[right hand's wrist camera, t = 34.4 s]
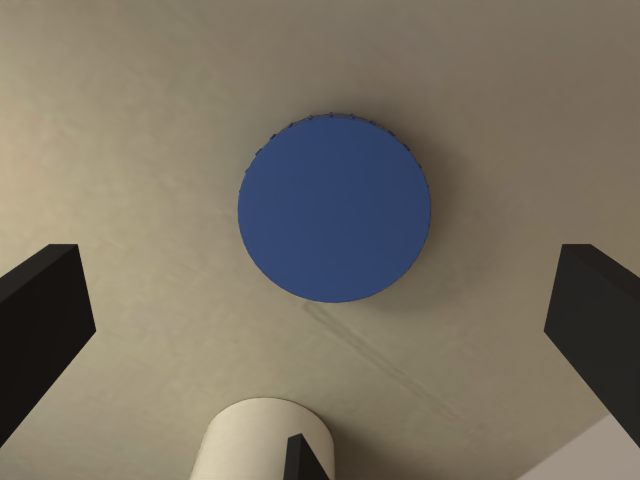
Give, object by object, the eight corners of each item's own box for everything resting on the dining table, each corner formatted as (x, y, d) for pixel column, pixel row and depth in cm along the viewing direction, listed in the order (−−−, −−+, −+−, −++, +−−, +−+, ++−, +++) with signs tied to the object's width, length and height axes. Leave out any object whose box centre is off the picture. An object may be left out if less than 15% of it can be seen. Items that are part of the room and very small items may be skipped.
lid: (454, 151, 22) (466, 159, 20) (382, 308, 25) (386, 327, 24) (276, 83, 21) (270, 84, 20) (222, 254, 25) (213, 270, 23)
